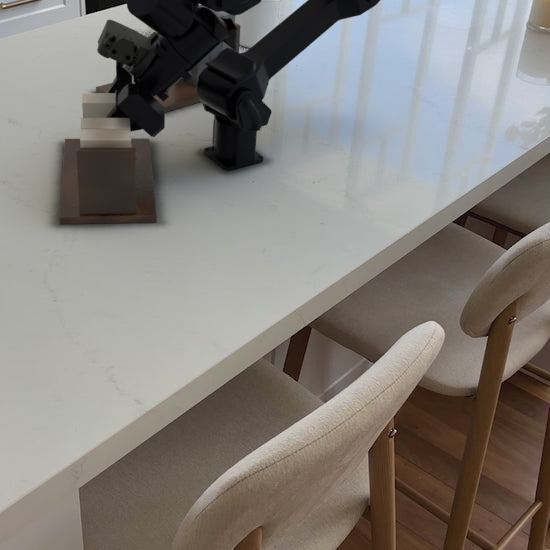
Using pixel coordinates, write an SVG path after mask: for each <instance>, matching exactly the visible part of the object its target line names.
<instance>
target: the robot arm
mask: <svg viewBox="0 0 550 550" xmlns="http://www.w3.org/2000/svg"><path fill="white" fill-rule="evenodd" d="M261 1H262V0H126V7H127V11H128V12H129V14H130V15H132V16H133V17H135V18H136V19H137V20H139V21H141V22H142V23H143V24H145V25H146V26H147V27H148V26H149V27H150V28H152V29H153V30H154V31H156V32H157V33H156V32H153V33H150V35H149V36H146V35H144V34H142V33H140V32H139V31H137V30H135V29H133V28H131V27H129V26H127V25H125V24H122V23H120V22H118V21H115V20H113V19H106V22H105V25H104V27H103V29H102V31H101V33H100V35H99V37H98V40H97V53H98V55H100V56H101V57H103V58H106V59H110V60H113V61H115V77H114V79H113V81H112V82H111V83H112V84H111V86H110V87H109V89H108V91H107V92H106V93H115V102H116V105H115V107H114V108H113V109H112V110H111V112H110V113H109V114H108V115H107V117H106V118H130V130H131V132H136V131H140V130H143V131H144V132H145V133H146V134H148V135H149V136H150V137H152V138H155V137H157V135H159V134H160V133H161V132H162V131H163V130H164V129H165V128H166V126H165V125H166V124H165V123H166V121H165V120H166V119H165V113H164V106H163V105H162V104H161V103H160V102H158V101H157V100H156V99H155V98H154V97H153V96H156V95H157V96H158V97H159V98H160V99H161V100H162V101H163V102H164V101H165V100H166V99H167V98H168V97H169V91H168V90H169V89H170V88H171V87H173V86H174V85H175V84H176V83H177V82H178V81H179V80H180V79H181V78H183V79H184V80H185V81H187V80H188V79H189V78H190V77H191V76H192V74H191V69H192V68H193V67H195V66H196V65H197V64H198V63H199V62H200V61H201V60H202V59H203V58H205V57H206V56H207V55H208V54H209V53H210V52H211V51H212V50H213V49H214V48H216V47H217V46H218V45H219V44H220V43H221V42H222V41H223V42H224V43H226V44H227V45H228V46H230V47H231V48H234V47H235V46H236V31H237V27H236V25H235V24H234V22H233V20H232V19H231V18H220V17H219V16H217V15H216V14H215V13H214V12H212V11H211V10H213V11H216V12H221V11H224V12H226V13H228V14H230V15H234V16H235V15H240V14H242V13H244V12H246V11H247V10H249V9H251V8H252V7H254V6H256V5H258V4H259V3H260V2H261ZM380 2H381V0H306V1H305V2H304V3H302V4H301V5H300V6H299V7H298V8H296V9H295V10H294V11H293V12H292V13H291V14H289V15H288V16H287V17H286V18H284V19H283V20H282V21H281V22H279V25H278V26H276V27H275V28H274V29H273V30H272V31H270V32H269V33H268V34H267V35H266V36H264V37H263V38H262V39H261V40H260V41H258V42H257V43H256V44H255V45H254V46H252V47H251V48H248V49H247V50H246V51H244V52H239V53H238V52H236V51H234V50H232V49H230V48H226V49H224V50H222V51H221V52H220V53H219V54H218V56H217V57H216V58H214V59H213V60H211V61H209V62H206V63H205V65H206V66H208V67H206V68H205V69H204V70H203V71H202V72H201V73H200V75H199V76H198V83H197V96H198V98H199V100H200V101H201V102H200V103H202V107H203V110H204V111H205V112H207V113H209V114H212V115H213V118H214V119H213V121H212V123H213V124H212V126H213V127H212V146H208V147H204V149H203V153H204V154H205V155H206V156H208V157H209V158H210V159H211V160H213V161H214V162H216V163H217V164H218V165H219V166H220V167H222V168H223V169H224V170H226V171H231V170H235V169H239V168H243V167H246V166H249V165H250V166H251V165H254V164H257V163H261V162H263V161H264V156H263V155H262V154H260V153H259V152H258V151H257V150H256V148H257V135H258V131H261V129H262V127H265V126H267V125H268V124H269V121H270V118H271V115H272V112H273V111H272V109H271V108H270V107H269V106H268V105H267V104H266V103H265V102H264V101H263V100H264V99H265V96H266V94H267V89H268V86H269V82H270V80H271V79H272V78H273V77H275V75H277V74H278V73H279V72H280V71H281V70H283V68H285V67H286V66H287V65H288V64H289V63H291V62H292V61H293V60H294V59H295V58H297V56H299V55H300V54H301V53H302V52H303V51H305V50H306V49H307V48H308V47H309V46H311V44H313V43H314V42H315V41H317V40H318V39H319V38H320V37H321V36H322V35H323V34H325V33H326V32H327V31H328V30H329V29H331V28H332V27H333V26H334V25H335V24H336V23H338V22H339V21H341V20H345V19H351V18H354V17H358V16H362V15H363V14H364V13H367V12H368V11H369V10H371V9H373V8H374V7H375V6H377V5H378V4H379V3H380ZM198 5H203V6H205V7H207V8H205V7H198ZM208 8H209V9H208ZM210 9H211V10H210Z"/></svg>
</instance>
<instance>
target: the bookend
mask: <svg viewBox="0 0 550 550" xmlns="http://www.w3.org/2000/svg"><path fill="white" fill-rule="evenodd" d="M198 7H205V6H203V5H201V4H199V5H198ZM205 8H207V7H205ZM208 9H209V8H208ZM210 10H211V9H210ZM211 11H212V12H214V13H215V14H216V15H217V16H219V17H220V18H231V19H232V20H233V22H234V24H235V25H236V27H237V31H236V46H235V47H234V48H231V47H230V46H228V45H227V44H226V43H224V42H223V41H222V42H221V43H220V44H219V45H218V46H217V47H216V48H214V49H213V50H212V51H211V52H210V53H209V54H208V55H207V56H206V57H205V58H203V59H202V60H201V61H200V62H199V63H198V64H197V65H196V66H195V67H193V68H192V69H191V74H192V76H191V77H190V78H189V79H188V80H187V81H185V80H184V79H183V78H181V79H180V80H179V81H178V82H177V83H176V84H175V85H174V86H173V87H171V88H170V89H169V90H168V91H169V97H168V98H167V99H166V100H165V101H164V102H163V101H162V100H161V99H160V98H159V97H158V96H157V95H156V96H153V97H154V98H155V99H156V100H157V101H158V102H160V103H161V104H162V105H163V106H164V114H165V113H168V112H171V111H174V110H178V109H182V108H184V107H189V106H192V105H195V104H198V103H202V102H201V101H200V100H199V98H198V96H197V83H198V76H199V75H200V73H201V72H202V71H203V70H204V69H205V68H206V67H208V66H206V65H205V63H206V62H209V61H211V60H213V59H214V58H216V57H217V56H218V54H219V53H220V52H221V51H222V50H224V49H226V48H230V49H232V50H234V51H236V52H238V53H240V45H239V43H240V25H239V24H236V23H235V16H234V15H230V14H228V13H226V12H224V11H221V12H216V11H213V10H211ZM111 84H112V82H109V83H106V84H102V85H99V86H95V93H106V92H107V91H108V89H109V87H110V86H111Z"/></svg>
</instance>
